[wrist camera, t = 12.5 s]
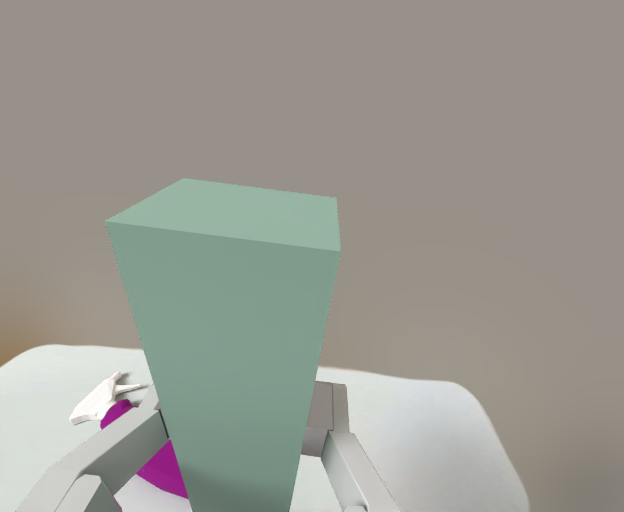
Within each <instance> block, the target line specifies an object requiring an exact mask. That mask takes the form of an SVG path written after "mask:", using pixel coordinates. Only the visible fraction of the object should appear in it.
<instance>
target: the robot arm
mask: <svg viewBox="0 0 624 512" xmlns="http://www.w3.org/2000/svg"><path fill="white" fill-rule="evenodd" d="M168 439H171V438H170V435H169V432H168V429H167V425H166V422H165V419H164V415H163V412H162V409H161V405H160V402H159V399H158V396H157V392H156V389H155V386H154V383H153V384H152V386H151V388H150V389H149V391H148V392H147V394H146V396H145V397H144V399H143V400H142V402H141V404H140V405H139V407H133V408H132V409H130V410H129V411H128V412H126V413H125V414H123V415H122V416H121V417H119V418H118V419H116V420H115V421H114V422H112V423H111V424H109V425H108V426H107V427H105V428H104V429H102V430H101V431H100V432H98V433H97V434H95V435H94V436H93V437H91V438H90V439H88V440H87V441H86V442H84V443H83V444H81V445H80V446H79V447H77V448H76V449H74V450H73V451H72V452H70V453H69V454H67V455H66V456H65V457H63V458H62V459H60V460H59V461H58V462H56V463H55V464H53V465H52V466H51V467H49V468H48V469H47V471H46V472H45V473H44V475H43V476H42V477H41V478H40V480H39V481H38V482H37V484H36V485H35V486H34V488H33V489H32V490H31V492H30V493H29V494H28V495H27V497H26V498H25V499H24V501H23V502H22V503H21V505H20V506H19V507H18V509H17V510H16V511H15V512H122V508H121V507H120V505H119V504H118V502H117V501H116V499H115V498H114V495H115V494H116V493H117V492H118V491H119V490H120V489H121V488H122V487H123V486H124V485H125V484H126V483H127V482H128V481H129V480H130V479H131V478H132V477H133V476H134V475H135V474H136V473H137V472H138V471H139V470H140V469H141V468H142V467H143V466H144V465H145V464H146V463H147V462H148V461H149V460H150V459H151V458H152V457H153V456H154V455H155V454H156V453H157V452H158V451H159V450H160V449H161V448H162V447H163V446H164V445H165V444H166V443H167V442H168ZM301 454H302V455H308V456H315V457H321V461H322V463H323V465H324V468H325V470H326V473H327V475H328V477H329V480H330V482H331V485H332V487H333V489H334V492H335V494H336V496H337V499H338V501H339V504H340V506H341V508H342V511H343V512H400V510H399V508H398V506H397V505H396V503H395V501H394V500H393V498H392V496H391V495H390V493H389V491H388V490H387V488H386V486H385V485H384V483H383V481H382V480H381V478H380V476H379V475H378V473H377V471H376V470H375V468H374V466H373V465H372V463H371V461H370V460H369V458H368V456H367V455H366V453H365V451H364V450H363V448H362V446H361V445H360V443H359V441H358V440H357V438H356V436H355V435H354V434H353V433H350V432H349V417H348V402H347V388H346V385H345V384H336V383H330V382H321V381H315V384H314V389H313V394H312V399H311V404H310V409H309V414H308V419H307V424H306V429H305V434H304V439H303V444H302V450H301Z"/></svg>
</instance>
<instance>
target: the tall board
mask: <svg viewBox="0 0 624 512" xmlns="http://www.w3.org/2000/svg"><path fill="white" fill-rule="evenodd" d="M105 224H106V228H107V231H108V234H109V238H110V241H111V244H112V247H113V251H114V254H115V257H116V261H117V264H118V267H119V271H120V274H121V277H122V280H123V284H124V287H125V290H126V293H127V297H128V300H129V303H130V307H131V310H132V313H133V317H134V320H135V323H136V326H137V329H138V333H139V336H140V340H141V343H142V346H143V350H144V353H145V356H146V359H147V363H148V366H149V369H150V373H151V376H152V379H153V382H154V386H155V389H156V392H157V396H158V399H159V402H160V405H161V409H162V412H163V415H164V419H165V422H166V425H167V429H168V432H169V435H170V438H171V442H172V445H173V448H174V452H175V455H176V458H177V461H178V465H179V468H180V471H181V475H182V478H183V481H184V484H185V488H186V491H187V494H188V498H189V501H190V504H191V508H192V511H193V512H289V510H290V505H291V500H292V495H293V490H294V485H295V480H296V475H297V470H298V465H299V460H300V455H301V450H302V444H303V439H304V434H305V429H306V424H307V419H308V414H309V409H310V404H311V399H312V394H313V389H314V384H315V379H316V374H317V369H318V364H319V359H320V353H321V348H322V343H323V338H324V333H325V328H326V323H327V318H328V313H329V308H330V303H331V298H332V293H333V288H334V283H335V278H336V273H337V268H338V263H339V257H340V252H341V249H340V237H339V224H338V212H337V200H336V198H332V197H324V196H317V195H310V194H302V193H294V192H287V191H279V190H271V189H263V188H256V187H248V186H241V185H233V184H226V183H217V182H210V181H202V180H195V179H187V178H183V179H181V180H180V181H178V182H176V183H174V184H172V185H170V186H168V187H167V188H165V189H163V190H161V191H159V192H158V193H156V194H154V195H152V196H150V197H148V198H146V199H145V200H143V201H141V202H139V203H137V204H135V205H133V206H132V207H130V208H128V209H126V210H124V211H122V212H120V213H119V214H117V215H115V216H113V217H111V218H109V219H107V220H106V221H105Z"/></svg>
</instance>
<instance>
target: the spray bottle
mask: <svg viewBox="0 0 624 512" xmlns="http://www.w3.org/2000/svg"><path fill="white" fill-rule="evenodd" d="M121 376H122V374H121V373H120V372H118V371H117V372H116V373H114V374H113V375H112V376H111V377H110V378H107V379H106V380H105V381H103V382H102V383H101V384H100V385H99V386H98V387H97V388H96V389H95V390H94V391H92V392H91V393H90V394H89V395H88V396H87V397H86V398H85V399H84V400H83V401H81V402H80V403H79V404H78V405H77V406H76V407H75V409H74V411H73V413H72V415H71V417H70V419H69V420H70V421H71V423H72V424H73V425H76V424H78V423H80V422H83V421H87V420H97V421H99V420H101V426H100V427H101V429H104V428H105V427H107V426H108V425H109V424H111V423H112V422H114V421H115V420H116V419H118V418H119V417H121V416H122V415H123V414H125V413H126V412H128V411H129V410H130V409H132V408H133V407H137V406H131V404H130V401H129V400H128V399H126V400H121V401H118V402H116V401H115V396H116V395H117V394H119V393H121V392H125V391H129V390H133V389H136V388H140V384H136V385H117V384H116V383H115V382H116V381H117V380H118V379H119V378H120V377H121ZM136 474H137V475H139V476H140V477H142V478H143V479H145V480H146V481H148V482H150V483H151V484H153V485H155V486H156V487H158V488H159V489H161V490H164V491H167V492H169V493H172V494H175V495H178V496H181V497H184V498H187V499H189V498H188V494H187V491H186V488H185V484H184V481H183V478H182V475H181V471H180V468H179V465H178V461H177V458H176V455H175V452H174V448H173V445H172V442H171V439H168V442H167V443H166V444H165V445H164V446H163V447H162V448H161V449H160V450H159V451H158V452H157V453H156V454H155V455H154V456H153V457H152V458H151V459H150V460H149V461H148V462H147V463H146V464H145V465H144V466H143V467H142V468H141V469H140V470H139V471H138V472H137V473H136Z"/></svg>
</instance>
